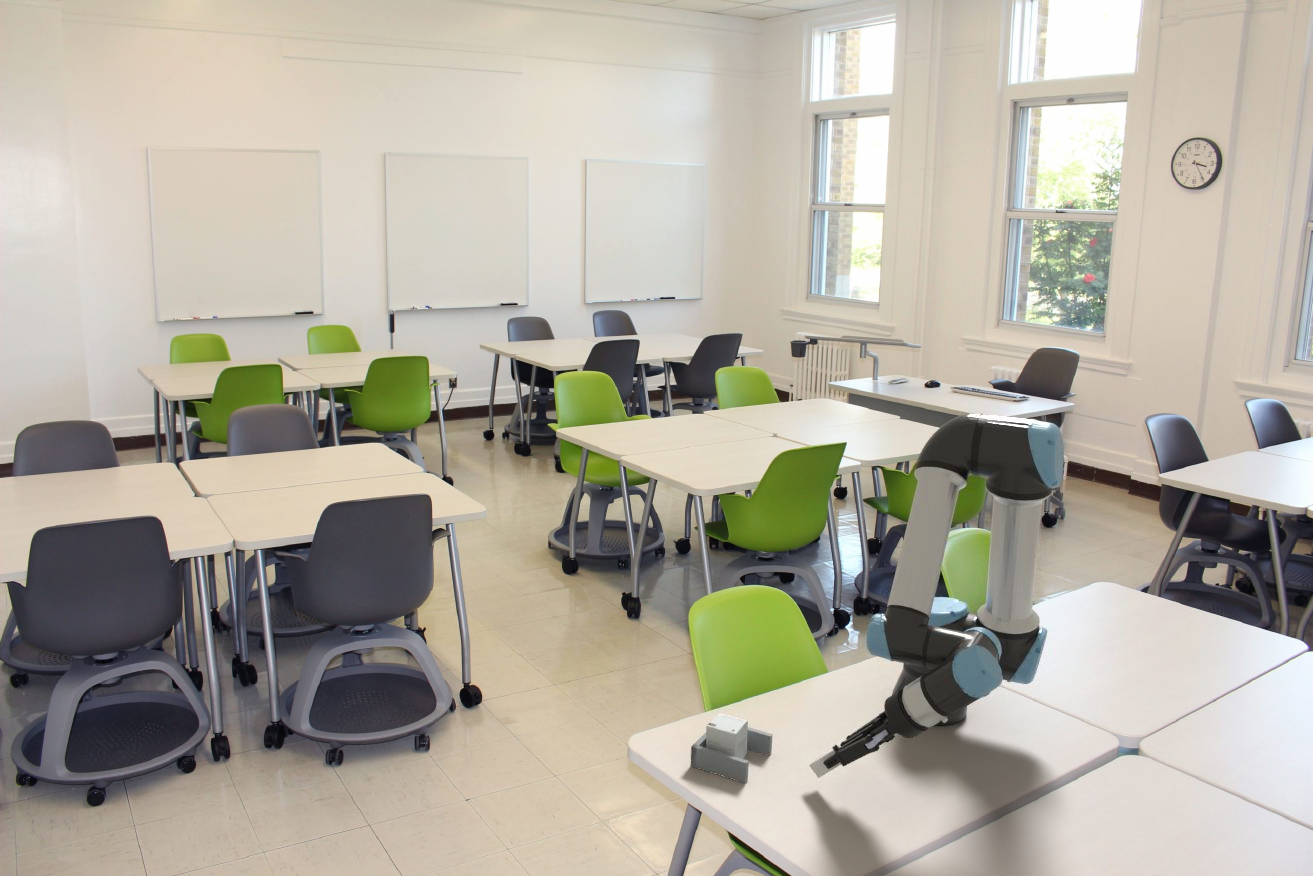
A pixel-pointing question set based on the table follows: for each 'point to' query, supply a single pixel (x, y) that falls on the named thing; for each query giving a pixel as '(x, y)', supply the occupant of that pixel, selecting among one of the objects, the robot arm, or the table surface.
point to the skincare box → (727, 735)
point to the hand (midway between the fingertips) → (815, 769)
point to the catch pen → (728, 763)
